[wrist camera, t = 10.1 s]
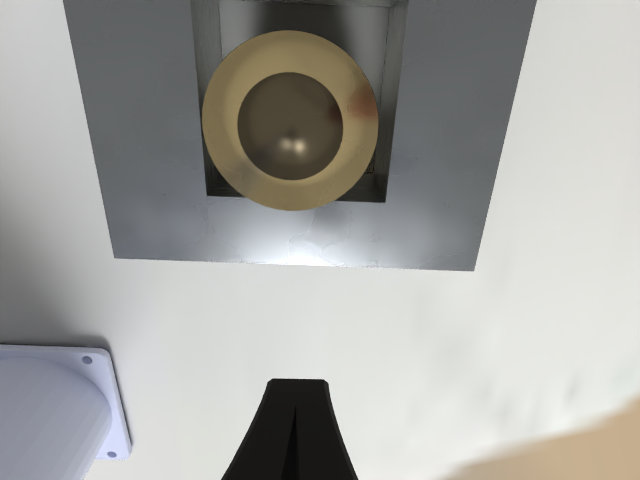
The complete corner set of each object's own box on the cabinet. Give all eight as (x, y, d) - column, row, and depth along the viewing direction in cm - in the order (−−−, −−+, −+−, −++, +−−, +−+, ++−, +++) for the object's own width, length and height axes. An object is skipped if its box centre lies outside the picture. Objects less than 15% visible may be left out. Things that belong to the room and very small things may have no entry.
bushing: (255, 149, 17) (214, 214, 10) (244, 38, 15) (187, 33, 8) (354, 146, 16) (376, 209, 10) (355, 35, 15) (381, 26, 8)
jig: (150, 220, 18) (114, 258, 15) (103, -96, 13) (34, -141, 10) (447, 231, 18) (473, 271, 15) (505, -77, 13) (562, -114, 10)
